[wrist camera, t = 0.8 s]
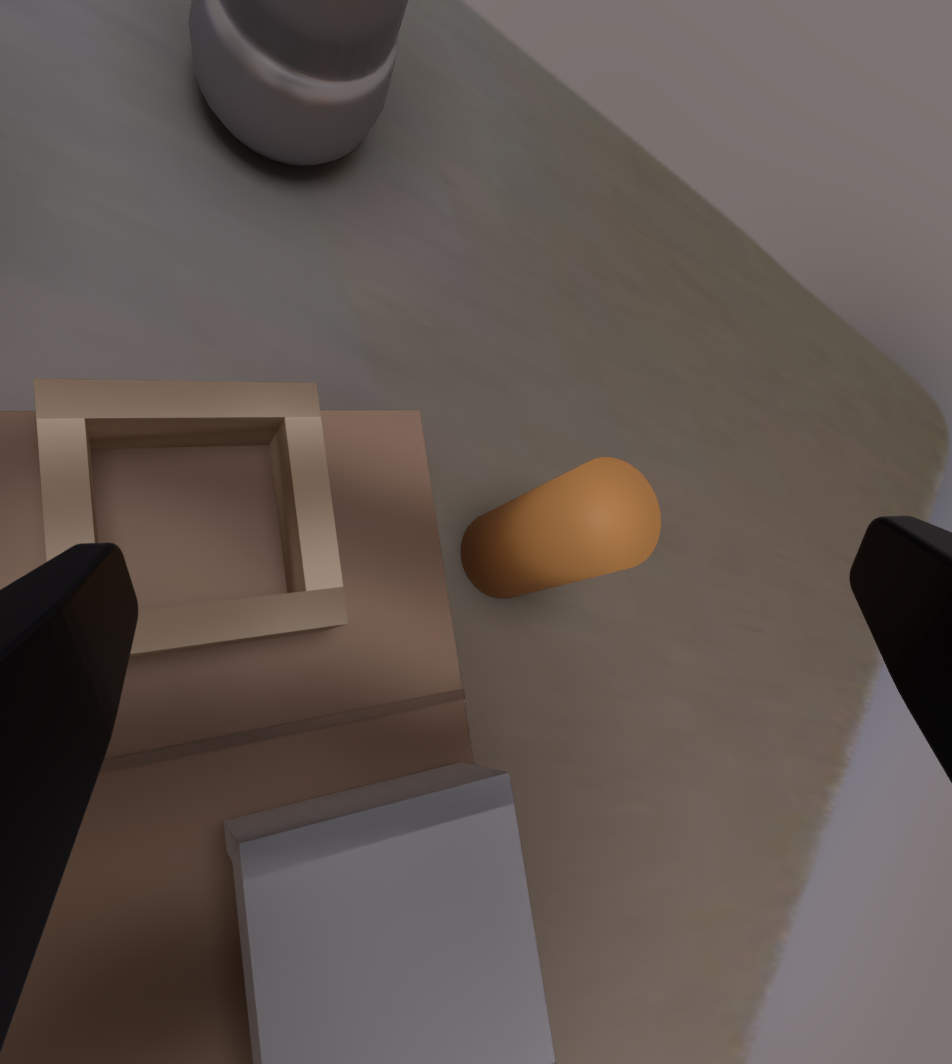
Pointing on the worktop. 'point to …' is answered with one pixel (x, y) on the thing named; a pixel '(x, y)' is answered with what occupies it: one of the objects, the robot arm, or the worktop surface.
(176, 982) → the board
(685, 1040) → the worktop surface
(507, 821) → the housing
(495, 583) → the peg
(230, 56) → the plastic bottle
